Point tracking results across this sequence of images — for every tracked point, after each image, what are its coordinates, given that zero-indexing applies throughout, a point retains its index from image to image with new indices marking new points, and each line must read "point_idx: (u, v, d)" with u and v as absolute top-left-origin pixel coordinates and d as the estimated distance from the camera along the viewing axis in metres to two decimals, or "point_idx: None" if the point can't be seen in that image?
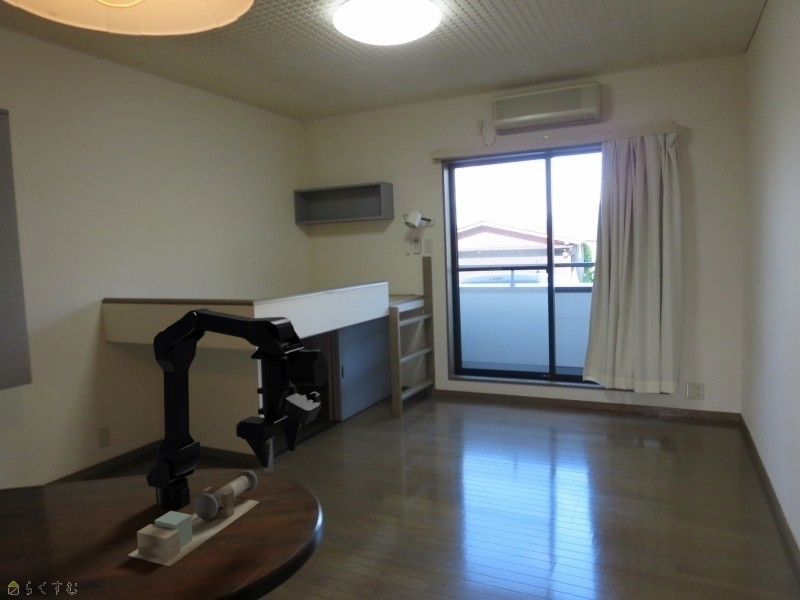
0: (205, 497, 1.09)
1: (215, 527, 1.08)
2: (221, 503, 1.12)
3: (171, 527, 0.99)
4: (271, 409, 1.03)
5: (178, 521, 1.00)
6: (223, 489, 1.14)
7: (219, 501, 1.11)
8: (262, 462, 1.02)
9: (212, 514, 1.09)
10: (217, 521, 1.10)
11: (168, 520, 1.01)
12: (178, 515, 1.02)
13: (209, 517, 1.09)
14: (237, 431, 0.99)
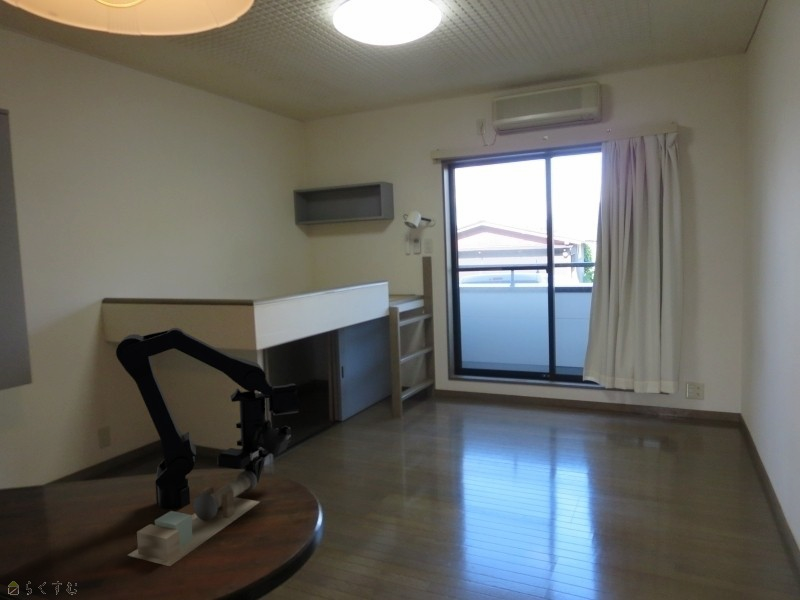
0: (204, 497, 1.09)
1: (215, 527, 1.08)
2: (220, 503, 1.12)
3: (171, 527, 0.99)
4: (248, 441, 1.21)
5: (178, 521, 1.00)
6: (222, 489, 1.14)
7: (218, 501, 1.11)
8: None
9: (211, 514, 1.08)
10: (217, 521, 1.10)
11: (168, 520, 1.01)
12: (178, 515, 1.02)
13: (208, 517, 1.09)
14: (218, 461, 1.17)
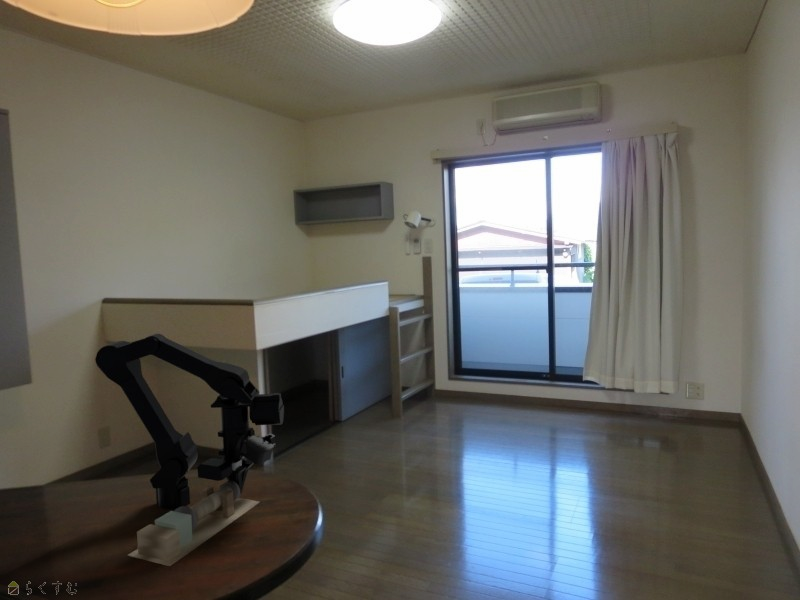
0: (183, 510, 1.03)
1: (215, 527, 1.08)
2: (200, 516, 1.06)
3: (171, 527, 0.99)
4: (230, 451, 1.16)
5: (178, 521, 1.00)
6: (203, 501, 1.08)
7: (198, 514, 1.06)
8: None
9: None
10: (217, 521, 1.10)
11: (168, 520, 1.01)
12: (178, 515, 1.02)
13: None
14: (198, 472, 1.11)
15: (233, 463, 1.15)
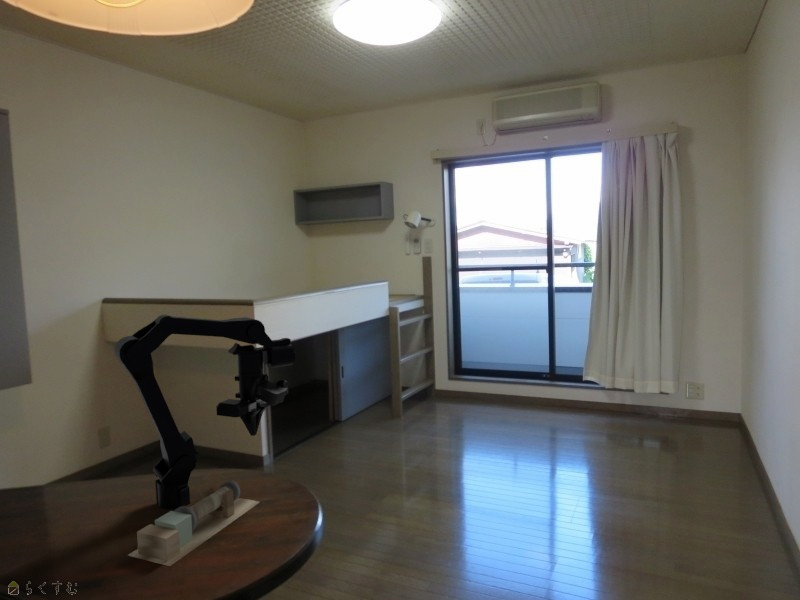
0: (183, 510, 1.03)
1: (215, 527, 1.08)
2: (200, 516, 1.06)
3: (171, 527, 0.99)
4: (246, 393, 1.25)
5: (178, 521, 1.00)
6: (203, 501, 1.09)
7: (198, 514, 1.06)
8: (250, 431, 1.28)
9: None
10: (217, 521, 1.10)
11: (168, 520, 1.01)
12: (178, 515, 1.02)
13: None
14: (217, 410, 1.20)
15: (249, 404, 1.24)
